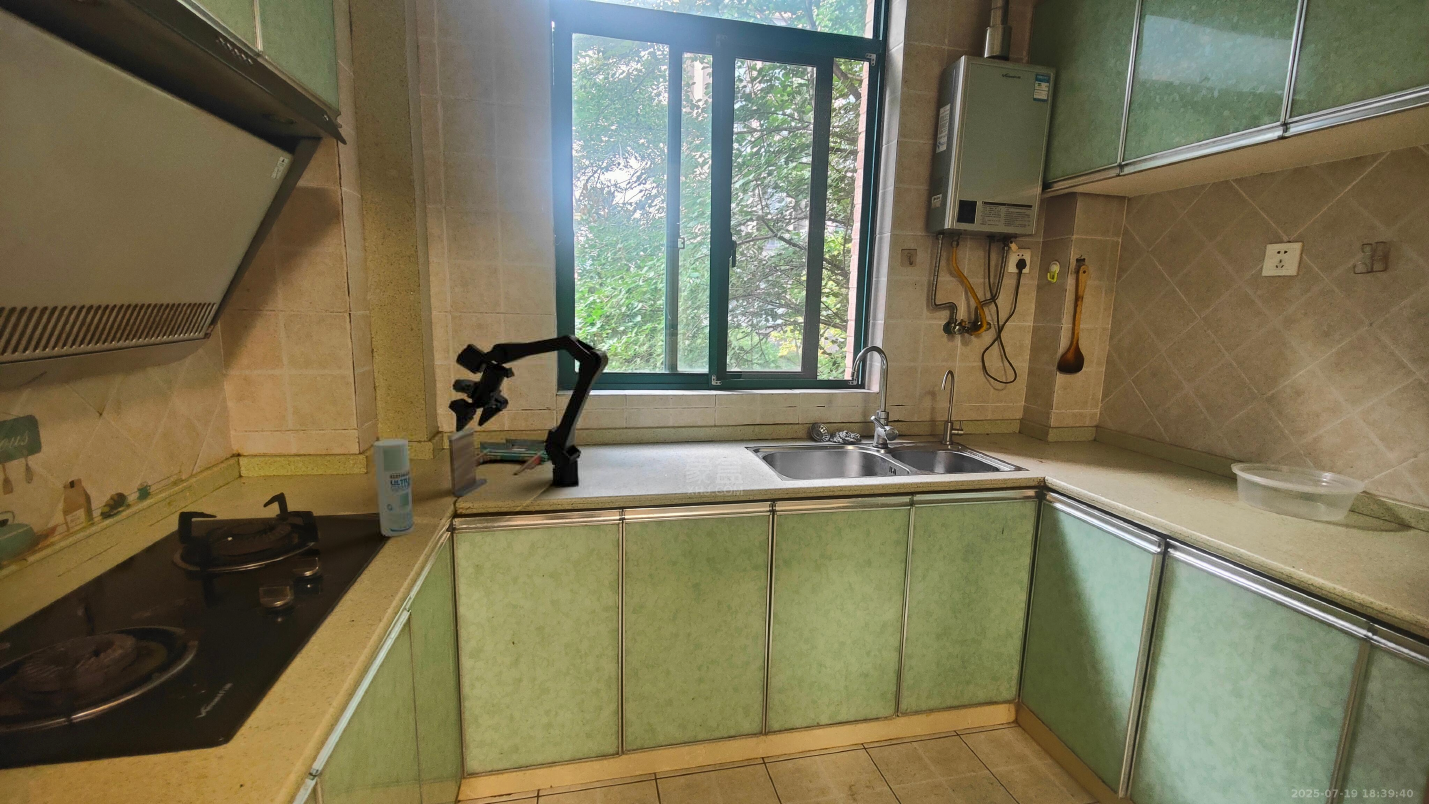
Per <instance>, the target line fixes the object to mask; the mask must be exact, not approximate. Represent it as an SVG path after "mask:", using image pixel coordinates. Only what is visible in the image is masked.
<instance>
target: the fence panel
mask: <svg viewBox="0 0 1429 804" xmlns="http://www.w3.org/2000/svg"><path fill="white" fill-rule="evenodd" d="M475 429H476V428H475V427H473V426H471V427H467V428H466V427H465V428H464V429H463V430H461V431H459V432H456V431H455V432H454V433H450V434H448V435H446V437H447V441H448V449H449V451H448V452H449V466H450V467H449V468H450V479H451V480H450V481H451V493H452V494H455V492H456V491H458V490H460V489H461V488H463V487H465V486H467V485H469V484H471V483H472V482H474V481H476V480H477V470H476V469H477V468H476V467H477V466H475V457H476V454H475V453H476V451H475V448H476V447H475V436H474V435H475V434H474V432H475Z"/></svg>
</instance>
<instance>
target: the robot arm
mask: <svg viewBox="0 0 1429 804" xmlns="http://www.w3.org/2000/svg"><path fill="white" fill-rule="evenodd" d="M564 350H565V351H566V353H568V354H569V355H570V356H571V357H572V358H573V360H576V361H577V362H578V363H579V364H578V370H577V371H578V372H577V375H578V376H577V377H578V378H577V381H576V384H575V386H574V389H573V391H572V392H571V395H570V398H569V400H568V402H567V405H566V408H565V410H564V413H563V415H562V417H561V418H560V422H559V424H558V425H555V426H553V427H552V428H550V429H548V432H547V436H546V438H545V440H544V442H543V443H544V444H545V447H544V450H545V452H546V454H547V455H548V456H549V457H550V459H549V460H550V463H551V465H552V483H553V484H554V487H555V486H560V487H574V485H578V486H579V485H580V478H579V460H578V459H580V457H581V455H582V451H581V450H580V449H579V448H578V446H577V445H576V444H574V443H575V439H576V438H575V437H576V427H577V424H578V422H579V420H580V417H581V414H582V412H583V410H584V408H585V406H586V403H587V400H588V398H589V397H590V396H589V395H590V393H591V391H592V389H593V386H594V384H595V382H597V380H598V379H599V378H600V376H601V375H602V374H603V372H604V371H605V369H606V368H607V366H608V364H609V361H610V359H609V357H608V355H607V353H606V352H605V350H602V349H600V348H599V349H598V348H595V347H594V346H592V345H591V344H589V343H588V342H586V341H584V340H582V339H580V338H579V337H577V336H576V335H575V334H564V335H562V336H558V337H557V336H556V337H553V338H546V339H541V340H540V339H539V340H535V341H530V342H521V341H515V342H514V341H512V342H511V341H506V342H501V343H499V342H498V343H496V344H494V345H493V346H492V347H491V349H490V350H489V351H485V350H482V349H480V348H479V347H477V346H476V345H475V344H474V343H468V344H467V345H466V347H465V348H463V349H461V352H460V353H458V354H457V356H456V359H455V362H456V364H457V365H458V366H460V367H462V368H463V369H465V370H466V371H468V372H469V373H471V374H473V375H478V374H481V375H480V377H479V380H473V379H467V378H463V379H461V378H458V379H455V381H454V382H453V384H452V389H453V391H454V392H456V393H461V394H464V395H466V398H467V399H469V400H471V402H470V401H468V400H467V399H465V398H464V397H461V398H457V399H453V400H451V401H450V402H449V405H448V409H449V410H450V411H452V412H453V413H454V414H455V433H456V432H459V431H461V430H464V429H466V427H467V426H468V425H469V424H470V423H471V422H472V421H473V420H474V418H475V416H476V414H477V410H481V409H482V410H481V413H480V416H479V418H478V422H477V426H478V427H483V426H484V425H485V424H487V423H488V422H489V421H490V420H492V419H493V418H494V417H496V416H497V415H498V414H500V413H501V412H503V410H505V409H507V408H508V406H509V404H510V403H509V400H508V398H507V397H505V396H504V395H503V394H501V393H502V392H503V390H502V389H501V386H502V385H503V382H504V381H505V378H506V379H510V378H513V377H515V372H514V370H513V368H512V366H510V367H506V366H505V365H507V364H511V363H515V362H518V361H521V360H523V359H526V358H528V357H530V356H534V355H535V356H536V355H542V354H547V353H553V352H554V353H555V352H557V351H564Z"/></svg>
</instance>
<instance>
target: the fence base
mask: <svg viewBox="0 0 1429 804" xmlns="http://www.w3.org/2000/svg"><path fill="white" fill-rule="evenodd" d="M487 483H488V479H487V478H477V479H476V481H474V482H472V483H471V484H469V485H467V486H465V487H463V488H461V489H460V490H458V491H456V492H455V493H454V494H455V497H460V498H461V497H462V498H463V497H465V496H467V495H468V494H470V493H472V492H473V491H475V490H477V489H479V488H481V487H482V486H484V485H485V484H487Z"/></svg>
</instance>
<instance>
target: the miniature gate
mask: <svg viewBox="0 0 1429 804" xmlns="http://www.w3.org/2000/svg"><path fill="white" fill-rule="evenodd" d="M504 439H505V442H499V441H498V442H497V441H481V440H479V448H480V452H476V455H475V466H476V467H478V466H479V465H481V464H482V463H484V462H486V461H490V460H510V461H512V460H514V461H525V463H524V464H522V466H520V467H519V468H518V469H516V471H513V473H512V475H514V476H518V475H520V474H521V473H523V472H524V471H526V470H530V471H531V470H533V469H532V468H535V467H536V466H538V464H540V463H541V462H546V461H547V460H550V457H549V456H548V455H547V454H546V452H545V450H544V447H545V444H546V443H543V442H544V441H545V440H546V438H545V439H531V438H528V439H527V438H526V439H525V438H507V437H505V438H504Z"/></svg>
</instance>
